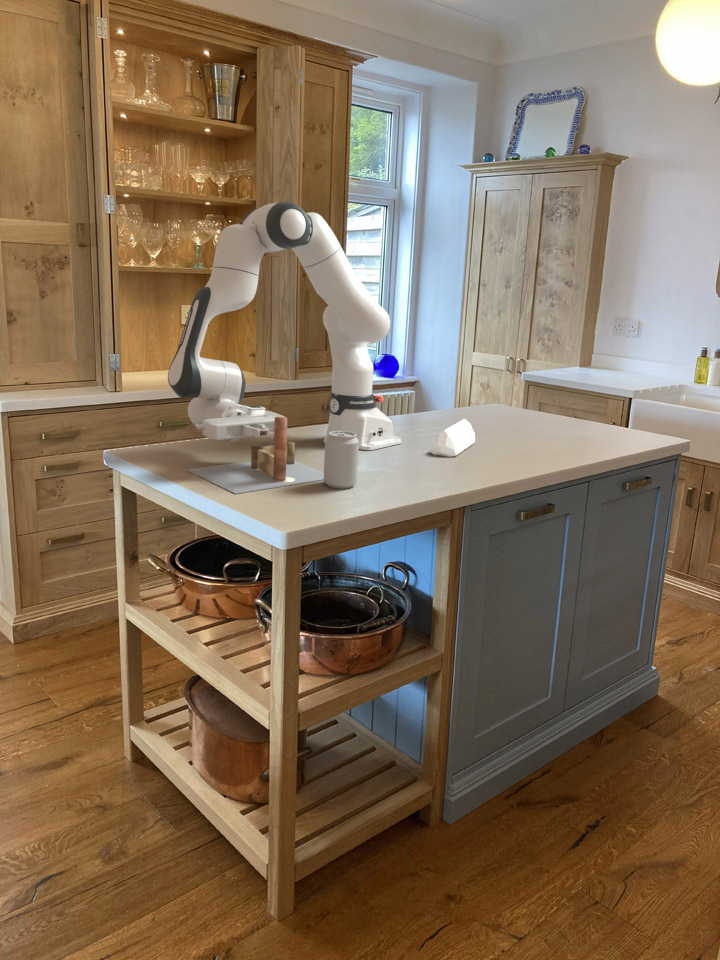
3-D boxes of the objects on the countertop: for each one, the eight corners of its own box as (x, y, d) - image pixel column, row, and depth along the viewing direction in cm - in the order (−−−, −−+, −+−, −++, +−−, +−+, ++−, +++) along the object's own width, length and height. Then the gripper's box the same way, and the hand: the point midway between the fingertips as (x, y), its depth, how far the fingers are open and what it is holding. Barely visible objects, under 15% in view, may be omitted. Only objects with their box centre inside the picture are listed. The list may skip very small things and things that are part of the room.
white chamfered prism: (461, 446, 202) (484, 430, 224) (439, 429, 204) (464, 416, 225) (445, 468, 205) (469, 450, 227) (424, 451, 207) (450, 436, 228)
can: (327, 490, 170) (329, 436, 166) (320, 480, 176) (322, 429, 173) (360, 489, 172) (363, 436, 168) (351, 480, 178) (354, 429, 175)
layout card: (284, 457, 196) (284, 456, 196) (337, 477, 180) (337, 477, 179) (186, 470, 179) (187, 469, 179) (235, 494, 163) (235, 493, 163)
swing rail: (253, 468, 182) (254, 409, 178) (264, 467, 183) (265, 409, 180) (276, 481, 172) (278, 419, 169) (287, 480, 174) (289, 418, 170)
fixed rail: (290, 461, 191) (291, 441, 190) (296, 463, 190) (296, 443, 188) (249, 466, 184) (249, 446, 183) (254, 469, 182) (254, 448, 181)
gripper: (192, 412, 176) (222, 423, 166) (267, 405, 189) (300, 415, 179) (192, 439, 178) (222, 451, 167) (267, 431, 190) (299, 442, 180)
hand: (263, 433), depth 173 cm, fingers closed
